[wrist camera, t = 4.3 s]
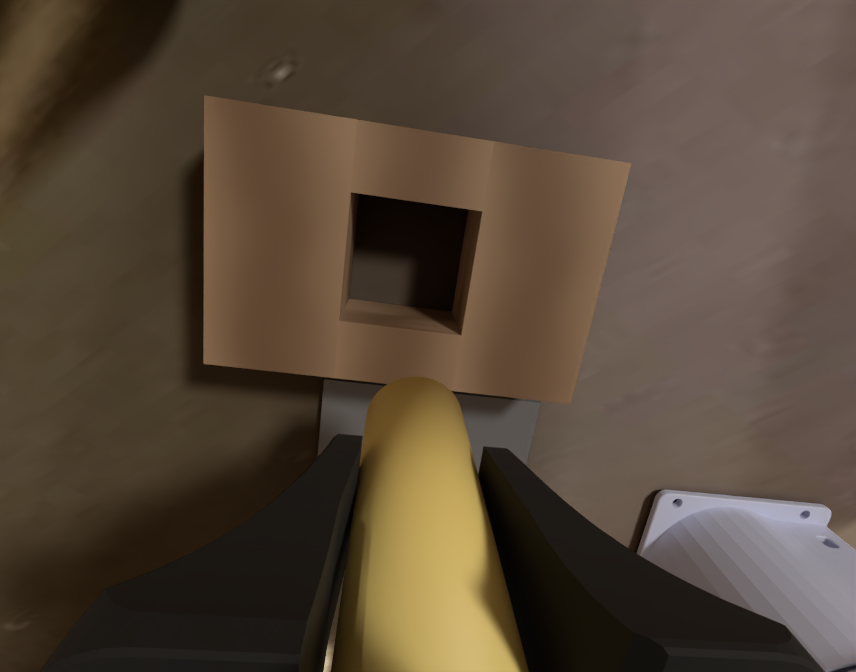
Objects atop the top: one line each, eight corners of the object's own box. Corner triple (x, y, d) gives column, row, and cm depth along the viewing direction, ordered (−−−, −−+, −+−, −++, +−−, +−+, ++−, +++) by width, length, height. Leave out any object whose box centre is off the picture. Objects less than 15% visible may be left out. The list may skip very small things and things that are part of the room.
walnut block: (592, 166, 20) (631, 163, 16) (545, 370, 22) (570, 403, 19) (240, 111, 18) (204, 95, 15) (234, 335, 21) (203, 363, 18)
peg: (468, 380, 15) (563, 669, 6) (455, 464, 16) (523, 816, 7) (369, 372, 14) (325, 663, 6) (363, 458, 15) (316, 816, 7)
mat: (538, 400, 23) (540, 402, 22) (499, 570, 26) (500, 574, 25) (324, 376, 22) (324, 379, 21) (309, 555, 25) (308, 560, 24)
